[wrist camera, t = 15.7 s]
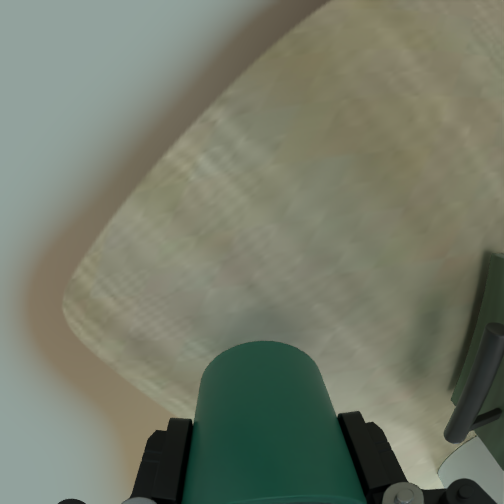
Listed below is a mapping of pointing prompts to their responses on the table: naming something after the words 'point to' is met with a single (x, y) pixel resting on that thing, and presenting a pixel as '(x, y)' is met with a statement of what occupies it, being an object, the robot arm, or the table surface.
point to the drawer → (483, 373)
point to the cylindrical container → (474, 469)
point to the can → (267, 433)
